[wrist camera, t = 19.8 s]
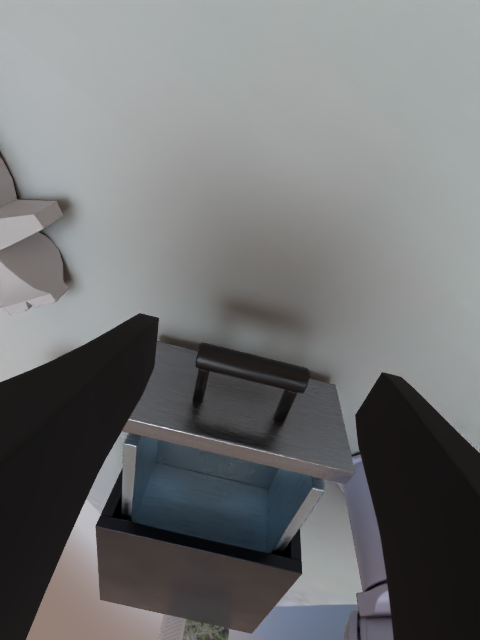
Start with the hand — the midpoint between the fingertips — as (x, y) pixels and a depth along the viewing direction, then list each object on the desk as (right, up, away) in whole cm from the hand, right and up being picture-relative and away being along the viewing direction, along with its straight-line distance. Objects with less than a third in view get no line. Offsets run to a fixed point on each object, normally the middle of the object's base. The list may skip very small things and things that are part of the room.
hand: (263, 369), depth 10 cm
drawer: (-1, -5, +15) cm, 16 cm away
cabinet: (-4, -16, +22) cm, 28 cm away
